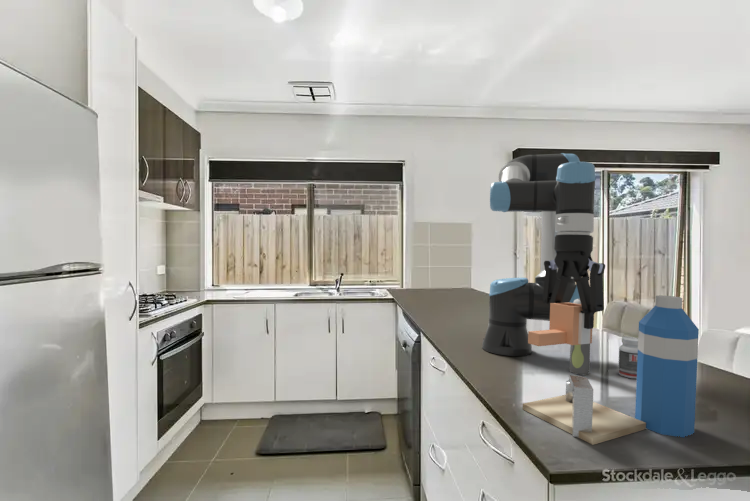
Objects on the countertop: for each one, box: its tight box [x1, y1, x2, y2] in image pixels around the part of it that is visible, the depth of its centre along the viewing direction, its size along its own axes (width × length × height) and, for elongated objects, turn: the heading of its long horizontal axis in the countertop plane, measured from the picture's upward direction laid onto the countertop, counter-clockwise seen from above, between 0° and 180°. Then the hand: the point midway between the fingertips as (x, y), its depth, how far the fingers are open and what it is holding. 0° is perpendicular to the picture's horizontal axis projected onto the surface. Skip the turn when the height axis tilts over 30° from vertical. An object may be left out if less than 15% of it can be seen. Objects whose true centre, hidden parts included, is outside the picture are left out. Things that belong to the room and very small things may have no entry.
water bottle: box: [634, 294, 700, 438], centre depth 78 cm, size 9×9×25 cm
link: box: [527, 302, 593, 347], centre depth 87 cm, size 14×6×8 cm, turn 116°
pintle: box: [565, 375, 573, 403], centre depth 87 cm, size 2×2×5 cm
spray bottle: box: [569, 299, 591, 376], centre depth 110 cm, size 5×5×20 cm
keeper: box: [569, 374, 594, 438], centre depth 76 cm, size 7×3×9 cm, turn 161°
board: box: [522, 394, 647, 446], centre depth 81 cm, size 16×15×1 cm
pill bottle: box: [617, 336, 638, 380], centre depth 108 cm, size 6×6×10 cm
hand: (570, 339), depth 89 cm, fingers closed on link, 6 cm apart
